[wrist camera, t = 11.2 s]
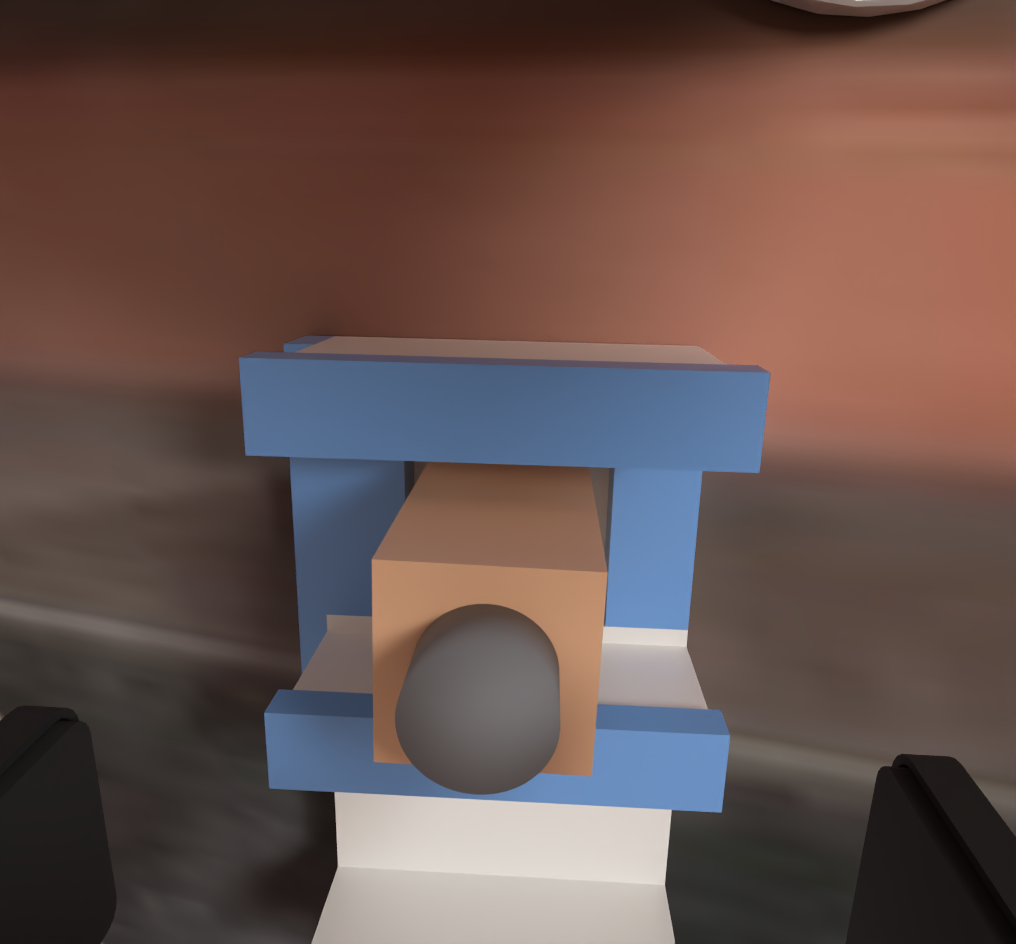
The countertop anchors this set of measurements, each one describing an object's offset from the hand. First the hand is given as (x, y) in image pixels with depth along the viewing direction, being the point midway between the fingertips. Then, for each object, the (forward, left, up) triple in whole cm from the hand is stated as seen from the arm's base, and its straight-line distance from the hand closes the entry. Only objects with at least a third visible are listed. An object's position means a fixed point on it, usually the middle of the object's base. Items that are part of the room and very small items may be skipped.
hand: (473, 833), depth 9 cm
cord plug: (+1, 0, -14) cm, 14 cm away
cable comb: (+9, 0, -14) cm, 17 cm away
